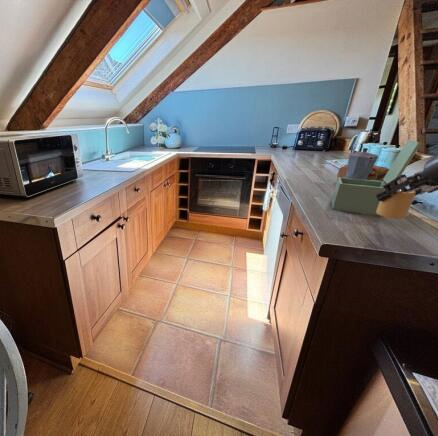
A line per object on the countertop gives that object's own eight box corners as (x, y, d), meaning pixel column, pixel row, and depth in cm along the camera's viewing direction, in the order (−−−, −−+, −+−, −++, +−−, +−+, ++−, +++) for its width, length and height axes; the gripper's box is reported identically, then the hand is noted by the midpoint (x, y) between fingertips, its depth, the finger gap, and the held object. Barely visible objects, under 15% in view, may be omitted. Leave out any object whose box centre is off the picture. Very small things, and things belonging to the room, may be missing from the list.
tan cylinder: (384, 209, 70) (393, 186, 68) (410, 216, 65) (421, 191, 62) (370, 212, 68) (379, 188, 66) (397, 220, 63) (407, 194, 61)
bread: (342, 186, 119) (348, 166, 115) (334, 181, 128) (339, 162, 124) (389, 189, 113) (397, 167, 110) (377, 183, 123) (384, 163, 119)
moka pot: (347, 199, 101) (362, 149, 93) (328, 189, 115) (340, 145, 107) (373, 200, 99) (390, 150, 92) (350, 189, 114) (364, 145, 106)
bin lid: (418, 142, 73) (421, 143, 73) (407, 139, 82) (410, 140, 82) (390, 186, 80) (393, 187, 80) (382, 179, 89) (385, 180, 89)
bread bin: (332, 209, 91) (340, 183, 87) (331, 200, 100) (338, 177, 96) (380, 216, 84) (391, 188, 80) (374, 206, 93) (383, 181, 89)
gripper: (486, 145, 53) (407, 184, 69) (424, 148, 52) (359, 187, 68) (507, 175, 50) (420, 209, 66) (443, 177, 49) (370, 211, 65)
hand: (389, 197), depth 67 cm, fingers closed on tan cylinder, 6 cm apart
